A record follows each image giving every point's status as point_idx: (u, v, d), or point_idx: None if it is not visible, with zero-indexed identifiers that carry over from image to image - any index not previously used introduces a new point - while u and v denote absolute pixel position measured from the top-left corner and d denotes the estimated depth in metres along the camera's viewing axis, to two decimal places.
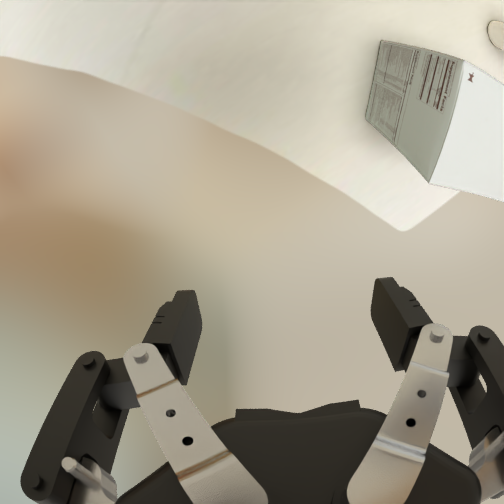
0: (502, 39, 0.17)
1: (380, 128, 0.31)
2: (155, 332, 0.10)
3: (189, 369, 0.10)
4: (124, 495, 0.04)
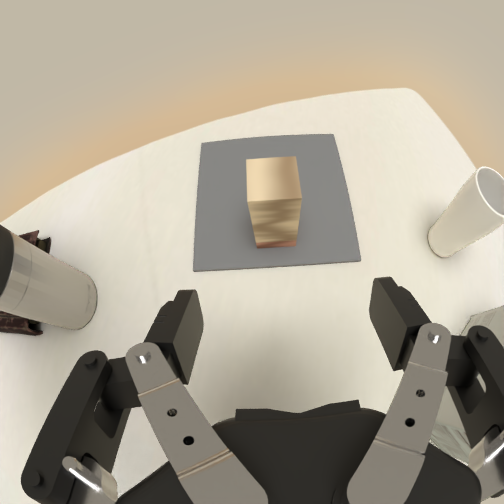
0: (453, 249, 0.31)
1: (464, 461, 0.19)
2: (157, 331, 0.10)
3: (191, 368, 0.10)
4: (124, 495, 0.04)
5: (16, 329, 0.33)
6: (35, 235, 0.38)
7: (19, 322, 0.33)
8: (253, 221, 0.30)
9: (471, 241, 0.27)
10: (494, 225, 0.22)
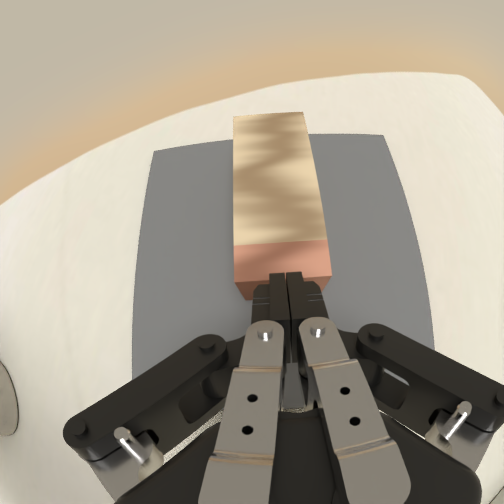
0: None
1: None
2: (260, 312, 0.11)
3: None
4: (124, 495, 0.04)
5: None
6: None
7: None
8: (236, 159, 0.17)
9: None
10: None
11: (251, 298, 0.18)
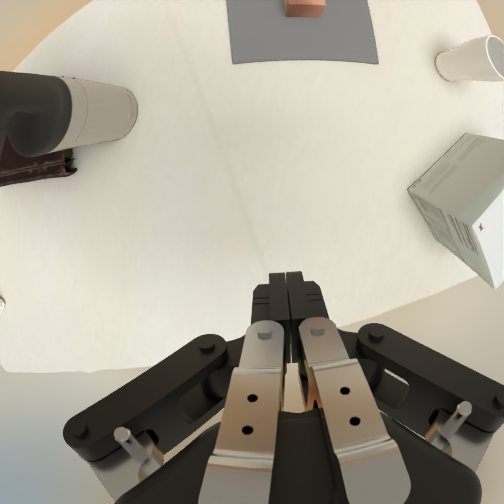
0: (456, 78, 0.28)
1: (451, 251, 0.39)
2: (260, 312, 0.11)
3: None
4: (124, 495, 0.04)
5: (51, 176, 0.38)
6: None
7: (54, 169, 0.37)
8: None
9: (473, 79, 0.25)
10: (494, 79, 0.20)
11: (289, 15, 0.29)
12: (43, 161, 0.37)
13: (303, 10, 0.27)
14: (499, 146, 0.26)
